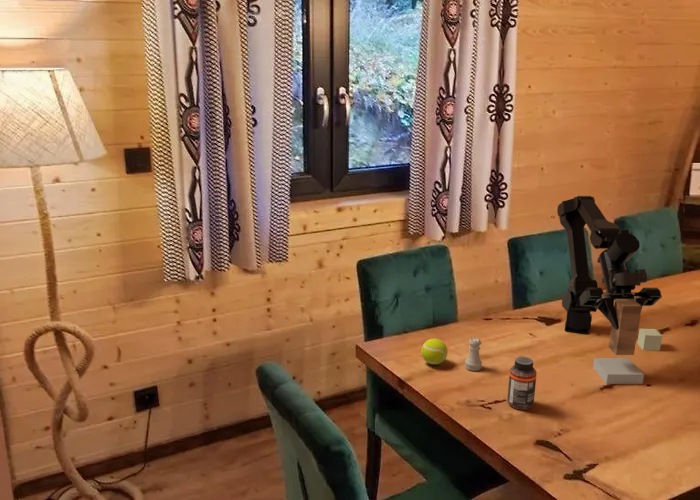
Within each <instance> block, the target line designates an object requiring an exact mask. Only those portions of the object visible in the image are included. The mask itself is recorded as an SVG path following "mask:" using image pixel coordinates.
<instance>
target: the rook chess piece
mask: <svg viewBox="0 0 700 500" xmlns="http://www.w3.org/2000/svg"><path fill="white" fill-rule="evenodd" d="M468 344H469V346H468V348H469V351H468V356H467V358H466V359H465V361H464V367H465V369H467V371H468V370H469V371H472V372H477V371H480V370H481V369H482V368H483V366H482V364H483V362H482V360H481V358H480V350H481V347H480V346H481V345H482V341H481V338H479V337H476V336H473V337H470V339H469V341H468Z"/></svg>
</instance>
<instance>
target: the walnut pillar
mask: <svg viewBox="0 0 700 500" xmlns="http://www.w3.org/2000/svg"><path fill="white" fill-rule="evenodd" d="M614 309H615V313H616V316H617V320H618V326H619V328H618V329H617V330H616V329H615V328H614V327H613V325H612V324H611V327H610V336H609V342H608V348H609V350H610V351H611V352H612V353H613V354H614V355H615V356H634V355H635V349H636V343H637V339H638V337H637V336H638V332H639V327H638V325H640V320H639V318H641V313H642V309H641V305H640V304H639V303H637V302H636V301H635V300H634V299H615V300H614ZM640 312H641V313H640Z"/></svg>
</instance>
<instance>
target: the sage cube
mask: <svg viewBox="0 0 700 500" xmlns="http://www.w3.org/2000/svg"><path fill="white" fill-rule="evenodd" d="M637 336H638V337H637V341H636V343H637V345H638V346H639V348H640V349H641V350H642V351H654V352H655V351H656V352H657V351H661V345H662V339H663V335H662V333H661V332H659V330H658V329H656V328H638V334H637Z"/></svg>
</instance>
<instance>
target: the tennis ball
mask: <svg viewBox="0 0 700 500" xmlns="http://www.w3.org/2000/svg"><path fill="white" fill-rule="evenodd" d="M421 356H422V358H423V359H424V361H425V362H426V363H428V364H429V365H433V366H434V365H436V366H437V365H440V364H442V363H443V362H444V361H446V359H447V356H448V347H447V345H446V343H445V342H444V341H442V340H441V339H438V338H430V339H427V340H426V341H425V342H424V343H423V345H422V347H421Z"/></svg>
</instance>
